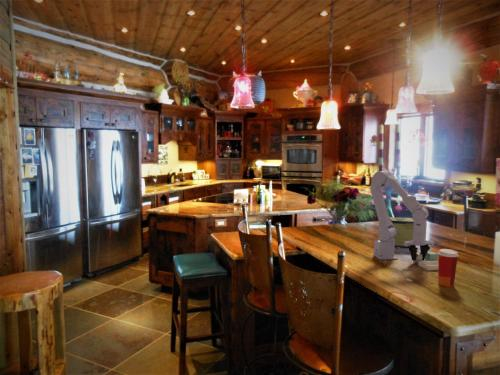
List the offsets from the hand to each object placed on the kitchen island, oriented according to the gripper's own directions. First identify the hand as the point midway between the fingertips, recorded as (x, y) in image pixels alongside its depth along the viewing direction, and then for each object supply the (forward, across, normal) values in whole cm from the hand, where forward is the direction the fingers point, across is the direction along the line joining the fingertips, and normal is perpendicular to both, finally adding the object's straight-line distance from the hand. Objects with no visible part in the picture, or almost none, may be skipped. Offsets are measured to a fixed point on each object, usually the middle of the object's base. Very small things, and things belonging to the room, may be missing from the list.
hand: (417, 260), depth 185 cm
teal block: (+2, +7, 0) cm, 7 cm away
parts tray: (+2, +4, -7) cm, 8 cm away
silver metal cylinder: (+2, 0, 0) cm, 2 cm away
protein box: (+2, +9, +32) cm, 33 cm away
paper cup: (+2, -5, -28) cm, 28 cm away
